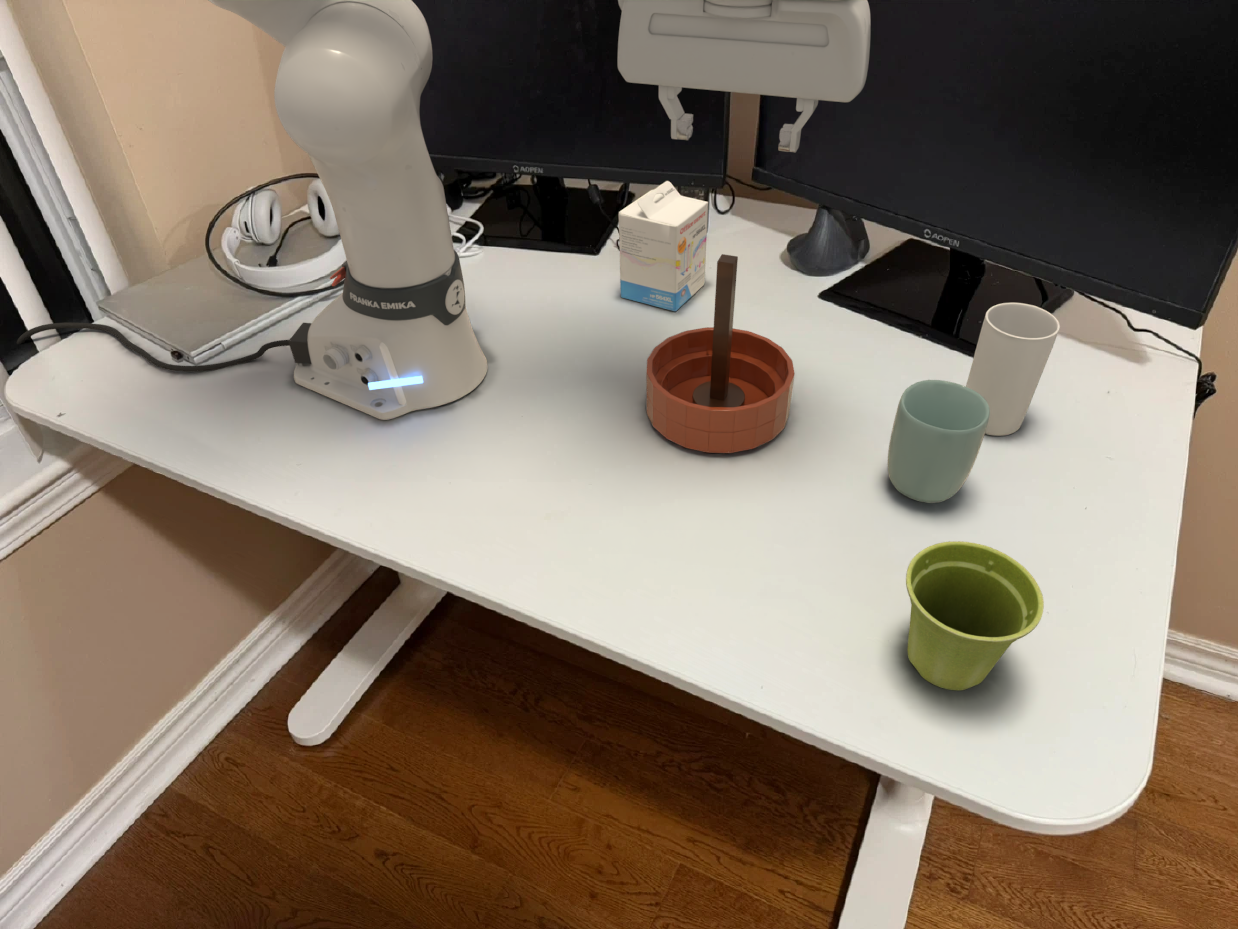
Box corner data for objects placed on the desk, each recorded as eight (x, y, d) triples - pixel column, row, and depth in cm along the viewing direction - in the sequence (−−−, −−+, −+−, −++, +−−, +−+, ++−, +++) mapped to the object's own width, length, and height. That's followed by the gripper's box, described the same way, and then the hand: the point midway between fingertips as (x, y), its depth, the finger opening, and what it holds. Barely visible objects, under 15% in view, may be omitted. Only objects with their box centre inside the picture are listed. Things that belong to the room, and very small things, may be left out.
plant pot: (1007, 727, 62) (1042, 656, 56) (876, 689, 65) (898, 617, 59) (1012, 631, 69) (1045, 559, 63) (893, 600, 71) (915, 528, 66)
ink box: (675, 313, 107) (677, 213, 98) (618, 297, 111) (616, 199, 102) (706, 284, 113) (710, 186, 104) (651, 269, 116) (651, 174, 107)
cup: (972, 476, 83) (1000, 394, 76) (952, 525, 78) (979, 442, 71) (893, 451, 86) (914, 370, 79) (869, 497, 81) (888, 415, 74)
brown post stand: (685, 417, 90) (690, 267, 79) (700, 387, 94) (707, 241, 82) (736, 427, 89) (749, 277, 77) (749, 397, 92) (763, 249, 81)
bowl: (626, 439, 88) (625, 393, 85) (672, 361, 99) (673, 317, 95) (769, 471, 84) (775, 423, 80) (800, 386, 95) (807, 341, 91)
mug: (1013, 446, 86) (1049, 346, 78) (947, 424, 89) (976, 325, 81) (1039, 396, 92) (1075, 300, 84) (977, 377, 95) (1006, 282, 87)
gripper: (602, -40, 64) (608, 143, 73) (876, -26, 58) (846, 170, 67) (630, -55, 69) (633, 119, 78) (888, -44, 63) (858, 142, 72)
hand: (734, 143), depth 72 cm, fingers open, 8 cm apart
